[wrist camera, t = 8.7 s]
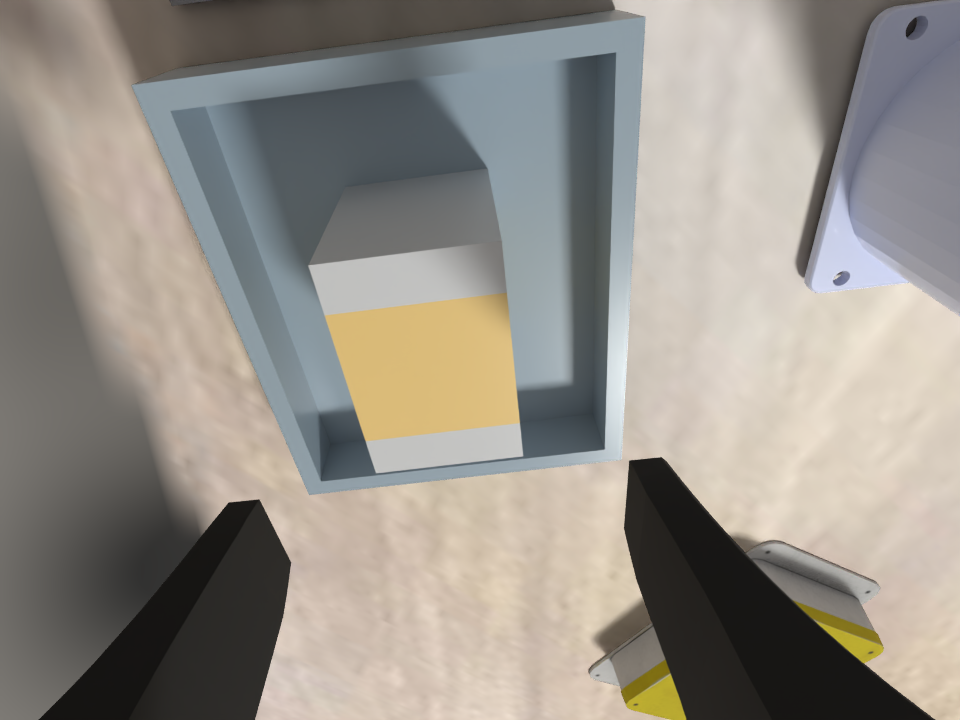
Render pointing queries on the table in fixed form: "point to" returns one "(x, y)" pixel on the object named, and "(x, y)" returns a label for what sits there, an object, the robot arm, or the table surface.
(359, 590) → the table surface
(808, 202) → the table surface
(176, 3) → the fuse block
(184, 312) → the table surface
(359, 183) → the parts tray
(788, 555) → the emergency button
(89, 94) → the table surface
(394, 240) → the block
